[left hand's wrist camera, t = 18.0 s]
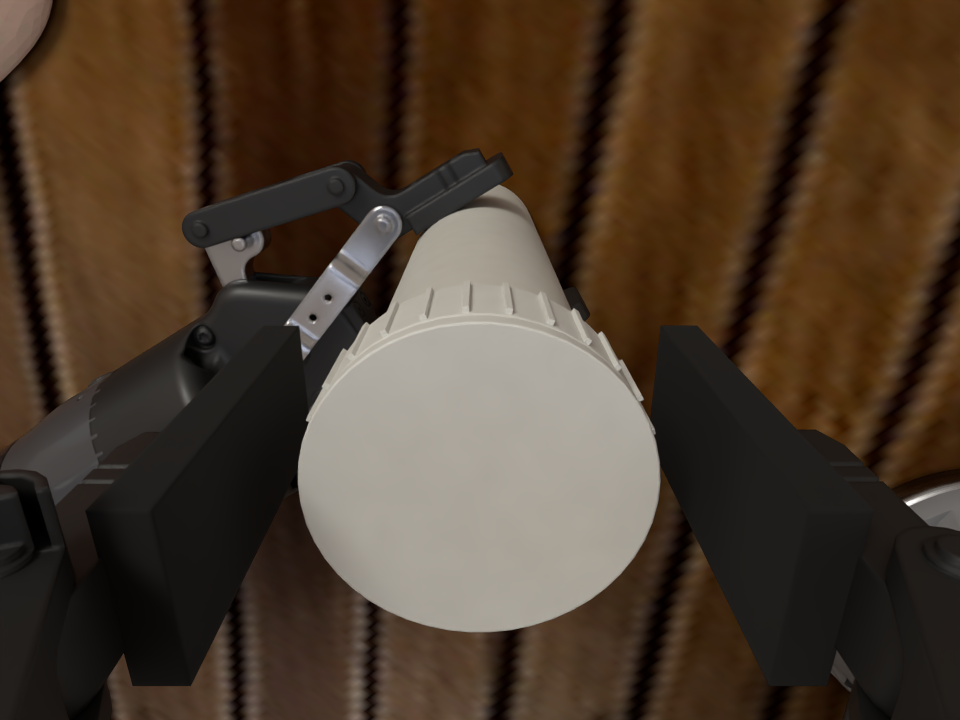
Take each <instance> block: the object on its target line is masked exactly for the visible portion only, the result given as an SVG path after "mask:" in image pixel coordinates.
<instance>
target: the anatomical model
mask: <svg viewBox="0 0 960 720" xmlns="http://www.w3.org/2000/svg"><path fill="white" fill-rule="evenodd" d="M52 2H53V0H0V82H1V81H2V80H3V79H4V78H5V77H6V76H7V75H8V74H9V73H10V72H11V71H12V70H13V69H14V68H15V67H16V66H17V65H18V64H19V63H20V62H21V61H22V59H23V58H24V57H25V56H26V55H27V54H28V52H29V51H30V50H31V49H32V48H33V46H34V45H35V43H36V42H37V40H38V39H39V37H40V36H41V34H42V32H43V30H44V28H45V26H46V24H47V21H48V18H49V15H50V11H51V7H52Z"/></svg>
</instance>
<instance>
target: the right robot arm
mask: <svg viewBox="0 0 960 720" xmlns="http://www.w3.org/2000/svg"><path fill="white" fill-rule="evenodd" d="M512 175H513V172H512V170H511V168H510V166H509V165H508V163H507V161H506V159H505V157H504V156H503V154H502V152H500V153H498V154H496V155H494V156H493V157H491V158H489V159H488V160H485V158H484V156H483V155H482V153H481V151H480V149H479V148H477V149H471V150H465V151H462V152H461V153H459V154H457V155H456V156H454V157H453V158H451V159H450V160H448V161H446V162H445V163H443V164H442V165H440V166H438V167H437V168H435V169H434V170H432V171H430V172H429V173H427V174H426V175H424V176H422V177H421V178H419V179H418V180H416V181H414V182H413V183H411V184H410V185H408V186H406V187H405V188H402V189H399V190H390V189H387V188H384V187H383V186H381V185H380V184H378V183H377V182H376V181H375V180H373V179H372V178H371V177H370V176H368V175H367V174H366V171H365V169H364V168H363V167H362V166H361V165H360V164H359V163H357V162H355V161H351V160H347V161H343V162H340V163H337V164H334V165H331V166H327V167H324V168H321V169H318V170H315V171H312V172H309V173H306V174H303V175H300V176H297V177H293V178H290V179H287V180H284V181H281V182H278V183H275V184H272V185H269V186H266V187H263V188H259V189H256V190H253V191H250V192H247V193H244V194H241V195H238V196H235V197H232V198H229V199H225V200H222V201H219V202H217V203H214V204H212V205H209V206H206V207H204V208H201V209H199V210H196V211H194V212H191V213H189V214H188V215H187V216H186V217H185V218H184V220H183V223H182V231H183V234H184V236H185V238H186V239H187V240H188V242H190V243H191V244H192V245H194V246H196V247H199V248H205V249H206V251H207V253H208V256H209V258H210V260H211V262H212V264H213V266H214V269H215V271H216V273H217V275H218V277H219V279H220V281H221V284H222V286H223V288H222V289H221V290H220V291H219V292H218V294H217V296H216V298H215V300H214V303H213V305H212V307H211V308H210V310H209V311H208V312H207V313H206V314H204V315H203V316H201V317H200V318H198V319H196V320H195V321H193V322H192V323H190V324H188V325H187V326H185V327H184V328H182V329H181V330H179V331H177V332H176V333H174V334H173V335H171V336H169V337H168V338H166V339H165V340H163V341H161V342H160V343H158V344H157V345H155V346H153V347H152V348H150V349H149V350H147V351H145V352H144V353H142V354H141V355H139V356H137V357H136V358H134V359H133V360H131V361H130V362H128V363H126V364H125V365H123V366H122V367H120V368H119V369H117V370H115V371H113V372H110V373H107V374H105V375H103V376H101V377H99V378H97V379H95V380H94V381H92V382H91V384H90V385H89V386H88V388H86V389H85V390H83V391H82V392H80V393H78V394H77V395H75V396H73V397H72V398H70V399H69V400H67V401H66V402H64V403H63V404H61V405H60V406H59V407H57V408H56V409H55V410H54V411H52V412H51V413H50V414H49V415H47V416H46V417H45V418H44V419H43V420H42V421H41V422H39V423H38V424H37V425H36V426H35V427H34V428H33V429H32V430H31V431H29V432H28V433H26V434H25V435H24V436H22V437H21V438H19V439H17V440H16V441H14V442H13V443H11V444H9V445H8V446H6V447H5V448H3V449H1V450H0V471H2V470H13V469H22V470H30V471H37V472H39V473H40V474H42V475H43V476H45V477H46V478H47V480H48V483H49V487H50V490H51V494H52V497H53V500H54V504H55V505H56V504H58V503H59V502H60V501H61V500H62V499H63V498H64V497H65V496H66V495H67V494H68V493H69V492H70V491H71V490H72V489H73V488H74V487H75V486H76V485H77V484H82V480H83V479H84V478H85V477H86V476H87V475H88V474H89V473H90V472H91V471H92V470H93V469H97V468H98V464H99V463H100V462H102V461H103V460H104V459H105V458H106V457H107V456H108V455H109V454H110V453H111V452H112V451H113V450H114V449H115V448H116V447H118V446H120V445H122V444H123V443H125V442H127V441H129V440H131V439H133V438H134V437H136V436H138V435H140V434H142V433H144V432H161V431H162V430H163V429H164V428H165V427H166V426H167V425H168V424H169V423H170V422H171V421H172V420H173V419H174V418H175V417H176V416H177V415H178V414H179V413H180V412H181V411H182V409H183V408H184V407H185V406H186V405H187V404H188V403H189V402H190V401H191V400H192V399H193V398H194V397H195V396H196V395H197V394H198V393H199V392H200V391H201V390H202V389H203V388H204V387H205V386H206V384H207V383H208V382H209V381H210V380H211V379H212V378H213V377H214V376H215V375H216V374H217V373H218V372H219V371H220V370H221V369H222V368H223V367H224V366H225V365H226V364H227V363H228V362H229V361H230V360H231V358H232V357H233V356H234V355H235V354H236V353H237V352H238V351H239V350H240V349H241V348H242V347H243V346H244V345H245V344H246V343H247V342H248V341H249V340H250V339H251V338H252V337H253V336H254V335H255V333H256V332H257V331H258V330H259V329H260V328H261V327H262V326H299V328H300V337H301V346H302V355H303V364H304V373H305V383H306V392H307V401H308V410H309V412H310V410H311V409H312V407H313V405H314V403H315V401H316V399H317V398H318V396H319V394H320V392H321V390H322V385H323V384H324V382H325V380H326V378H327V376H328V374H329V373H330V371H331V369H332V367H333V365H334V364H335V362H336V360H337V358H338V356H339V355H340V353H341V351H342V350H343V349H345V350H347V351H348V349H349V348H350V347H351V345H352V344H353V343H354V341H355V339H356V338H357V336H358V334H359V332H360V330H361V328H362V326H363V325H364V324H365V323H366V322H367V323H368V324H369V325H370V324H372V323H373V322H374V321H375V320H377V316H376V314H375V311H374V308H373V305H372V303H371V302H370V300H369V299H368V298H367V296H366V295H365V293H364V292H363V290H362V289H361V288H359V287H360V286H361V285H362V283H363V282H364V281H365V279H366V278H367V276H368V275H369V274H370V272H371V271H372V270H373V269H374V267H375V266H376V265H377V263H378V262H379V261H380V259H381V258H382V257H383V256H384V254H385V253H386V252H387V250H388V249H389V248H390V247H391V245H392V244H393V243H394V241H395V240H396V239H397V238H399V237H401V236H402V235H404V234H405V233H407V232H409V231H410V230H412V229H413V230H414V232H415V234H416V235H417V234H419V233H420V232H422V231H424V230H425V229H427V228H429V227H430V226H432V225H433V224H435V223H437V222H438V221H439V220H441V219H443V218H444V217H446V216H448V215H450V214H452V213H453V212H455V211H456V210H458V209H460V208H461V207H463V206H465V205H466V204H468V203H470V202H471V201H473V200H475V199H476V198H478V197H479V196H481V195H483V194H484V193H486V192H488V191H489V190H491V189H493V188H494V187H496V186H498V185H499V184H501V183H502V182H504V181H506V180H507V179H508V178H510V177H511V176H512ZM335 207H338V208H340V209H341V210H342V211H343V212H345V213H346V214H347V215H349V216H350V217H351V218H352V219H354V220H355V221H356V222H358V223H359V224H360V225H359V226H358V228H357V229H356V230H355V232H354V233H353V234H352V236H351V237H350V238H349V240H348V241H347V242H346V244H345V245H344V246H343V248H342V249H341V250H340V252H339V253H338V254H337V256H336V257H335V258H334V259H333V261H332V262H331V263H330V265H329V266H328V267H327V268H326V270H325V271H324V273H323V274H322V275H321V277H320V278H317V277H306V276H294V275H283V274H272V273H260V272H254V269H253V260H254V258H255V256H256V255H257V254H259V253H260V252H262V251H263V250H265V249H266V248H267V247H268V246H269V244H270V242H271V232H270V229H269V228H271V227H275V226H278V225H281V224H284V223H287V222H290V221H294V220H297V219H300V218H303V217H306V216H309V215H313V214H316V213H319V212H322V211H325V210H328V209H332V208H335ZM563 292H564V294H565V297H566V299H567V301H568V304H569V306H570V308H571V310H573V309H576V310H577V311H579V313H580V316H581V318H582V320H583V321H585V320H587V319H588V317H589V316H590V312H589V311H588V309H587V307H586V305H585V303H584V301H583V299H582V297H581V296H580V294H579V292H578V290H577V288H576V287H571V288H568V289H565V290H563ZM297 491H299V489H298V470H297V472H296V474H295V476H294V478H293V480H292V482H291V484H290V486H289V488H288V490H287V492H286V494H285V496H284V498H286V497H287V496H289V495H291V494H293V493H295V492H297ZM284 498H283V499H284Z"/></svg>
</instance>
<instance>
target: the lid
mask: <svg viewBox="0 0 960 720" xmlns="http://www.w3.org/2000/svg"><path fill="white" fill-rule="evenodd" d="M642 400H644V399H643V397H642V395H641V393H640V391H639V389H638V388H637V386H636V384H635V382H634V380H633V379H632V377H631V375H630V373H629V371H628V369H627V368H626V366H625V364H624V362H623V360H620V361H619V360H618V359H617V357H616V355H615V353H614V351H613V349H612V347H611V345H610V344H609V342H608V340H607V338H606V336H605V335H604V334H603V332H600V333H599V334H597V333H596V332H595V331H594V330H593V329H592V328H591V327H590V326H589V325H588V324H587V323H586V322H584V321H583V320H582V318H581V316H580V313H579V311H577V310H576V309H573V310H572V311H570V310H568V309H566V308H564V307H562V306H561V305H559V304H557V303H555V302H554V301H552V300H549V299H548V298H547V295H546V293H544V292H541V291H540V293H539V295H537V294H534V293H531V292H527V291H523V290H520V289H516V288H512V287H510V286H509V283H507V282H503V284H502V286H496V285H471V283H470V281H464V285H462V286H455V287H447V288H443V289H439V290H435V291H433V288H432V287H429V288H426V291H425V293H424V294H422V295H419V296H417V297H414V298H412V299H410V300H407V301H405V302H403V303H401V304H400V305H399V304H398V302H397V301H396V302H394V303H392V304H391V306H390V309H389V311H387V312H386V313H385V314H383V315H382V316H381V317H379V318H378V319H377V320H375V321H374V322H373V323H372V324H370V325H369V324H368V323H367V322H366V323H365V324H364V325H363V326H362V328H361V330H360V332H359V334H358V336H357V338H356V339H355V341H354V343H353V344H352V345H351V347H350V348H349V349H348V351H347V350H345V349H343V350H342V351H341V353H340V355H339V356H338V358H337V360H336V362H335V364H334V365H333V367H332V369H331V371H330V373H329V374H328V376H327V378H326V380H325V382H324V384H323V385H322V390H321V392H320V394H319V396H318V398H317V399H316V401H315V403H314V405H313V407H312V409H311V410H310V412H309V414H308V416H307V419H306V421H308V422H309V424H308V426H307V429H306V432H305V435H304V438H303V441H302V445H301V450H300V456H299V462H298V489H299V496H300V504H301V507H302V511H303V514H304V518H305V521H306V524H307V527H308V529H309V531H310V533H311V535H312V538H313V540H314V542H315V544H316V545H317V547H318V548H319V550H320V552H321V553H322V555H323V556H324V558H325V559H326V561H327V562H328V563H329V564H330V566H331V567H332V568H333V569H334V570H335V572H336V573H337V574H338V575H339V576H340V577H341V578H342V579H343V580H344V581H345V582H346V583H348V584H349V585H350V586H351V587H352V588H353V589H354V590H356V591H357V592H358V593H360V594H361V595H362V596H364V597H365V598H366V599H368V600H369V601H371V602H373V603H374V604H376V605H378V606H380V607H381V608H383V609H385V610H387V611H388V612H391V613H393V614H395V615H398V616H400V617H402V618H405V619H407V620H410V621H413V622H416V623H420V624H423V625H426V626H430V627H435V628H440V629H445V630H452V631H463V632H496V631H506V630H514V629H518V628H523V627H528V626H533V625H536V624H539V623H542V622H545V621H548V620H551V619H554V618H556V617H559V616H561V615H563V614H565V613H568V612H570V611H572V610H574V609H576V608H577V607H579V606H581V605H582V604H584V603H586V602H588V601H589V600H591V599H592V598H593V597H595V596H596V595H597V594H599V593H600V592H601V591H603V590H604V589H605V588H607V587H608V586H609V585H610V584H611V583H612V582H613V581H614V580H615V579H616V578H617V577H618V576H619V575H620V574H621V573H622V572H623V571H624V570H625V568H626V567H627V566H628V565H629V564H630V562H631V561H632V560H633V559H634V557H635V556H636V554H637V552H638V551H639V549H640V547H641V546H642V544H643V543H644V541H645V539H646V536H647V534H648V532H649V530H650V527H651V525H652V523H653V519H654V516H655V512H656V508H657V505H658V500H659V491H660V483H661V477H660V459H659V454H658V449H657V444H656V439H655V437H654V434H656V432H655V428H654V427H653V425H652V423H651V421H650V419H649V417H648V415H647V413H646V412H645V410H644V408H643V406H642V404H641V402H640V401H642Z"/></svg>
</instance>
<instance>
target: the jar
mask: <svg viewBox="0 0 960 720" xmlns="http://www.w3.org/2000/svg"><path fill="white" fill-rule="evenodd" d="M464 281H470V283H471V285H496V286H502V284H503V282H507V283H509V286H510V287H512V288H516V289H520V290H523V291H527V292H531V293H534V294H537V295H539V293H540V291H541V292H544V293H546V295H547V298H548V299H549V300H552V301H554V302H555V303H557V304H559V305H561V306H562V307H564V308H566V309H568V310H570V311H572V310H571V308H570V306H569V304H568V301H567V299H566V297H565V294H564V292H563V290H562V287H561V285H560V283H559V281H558V278H557V276H556V274H555V271H554V269H553V267H552V265H551V262H550V260H549V258H548V255H547V253H546V251H545V249H544V246H543V244H542V242H541V239H540V237H539V235H538V232H537V230H536V228H535V226H534V223H533V221H532V219H531V216H530V214H529V212H528V210H527V208H526V207H525V205H524V204H523V202H522V201H521V200H520V199H519V198H518V197H517V196H516V195H515V194H514V193H513V192H511V191H510V190H508V189H507V188H505V187H503V186H501V185H498V186H496V187H494V188H493V189H491V190H489V191H488V192H486V193H484V194H483V195H481V196H479V197H478V198H476V199H475V200H473V201H471V202H470V203H468V204H466V205H465V206H463V207H461V208H460V209H458V210H456V211H455V212H453V213H452V214H450V215H448V216H446V217H444V218H443V219H441V220H439V221H438V222H437V223H435V224H433V225H432V226H430V227H429V228H427V229H425V230H424V231H422V233H421V235H420V237H419V239H418V242H417V244H416V246H415V249H414V251H413V253H412V255H411V258H410V260H409V262H408V265H407V267H406V269H405V271H404V274H403V276H402V278H401V281H400V283H399V285H398V287H397V290H396V292H395V294H394V296H393V299H392V301H391V303H390V306H391V304H392V303H394V302H396V301H397V302H398V304H399V305H400V304H401V303H403V302H405V301H407V300H410V299H412V298H414V297H417V296H419V295H422V294H424V293H425V291H426V288H429V287H432V288H433V291H435V290H439V289H443V288H447V287H455V286H462V285H464ZM390 306H389V308H388V310H387V311H389V309H390Z"/></svg>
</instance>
